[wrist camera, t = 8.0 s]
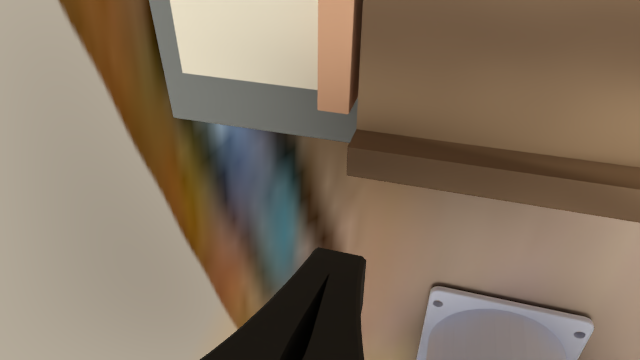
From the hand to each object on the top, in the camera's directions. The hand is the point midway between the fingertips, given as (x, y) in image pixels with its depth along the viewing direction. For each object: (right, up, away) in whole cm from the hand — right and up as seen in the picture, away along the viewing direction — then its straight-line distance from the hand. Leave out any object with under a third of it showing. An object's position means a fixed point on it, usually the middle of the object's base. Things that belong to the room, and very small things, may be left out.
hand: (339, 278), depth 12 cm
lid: (-2, +10, +5) cm, 12 cm away
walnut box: (+6, +9, +4) cm, 11 cm away
